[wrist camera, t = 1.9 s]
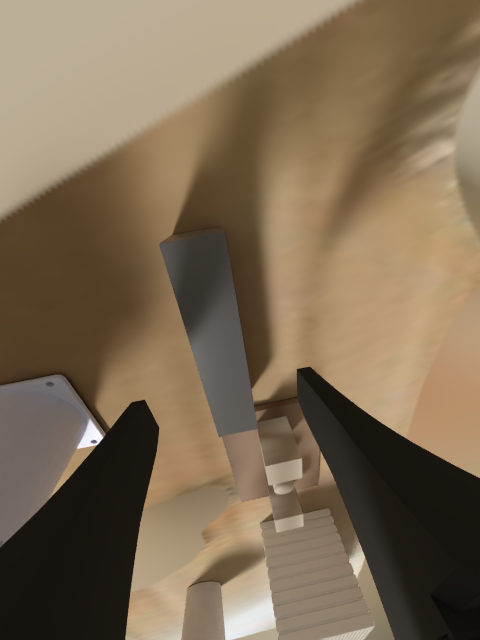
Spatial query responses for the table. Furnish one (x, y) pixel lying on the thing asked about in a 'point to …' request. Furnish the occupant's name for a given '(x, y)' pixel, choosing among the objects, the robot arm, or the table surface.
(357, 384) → the table surface
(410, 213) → the table surface
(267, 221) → the table surface
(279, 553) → the white rectangular block
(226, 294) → the gray rectangular bar
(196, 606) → the coffee cup
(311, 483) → the display stand
